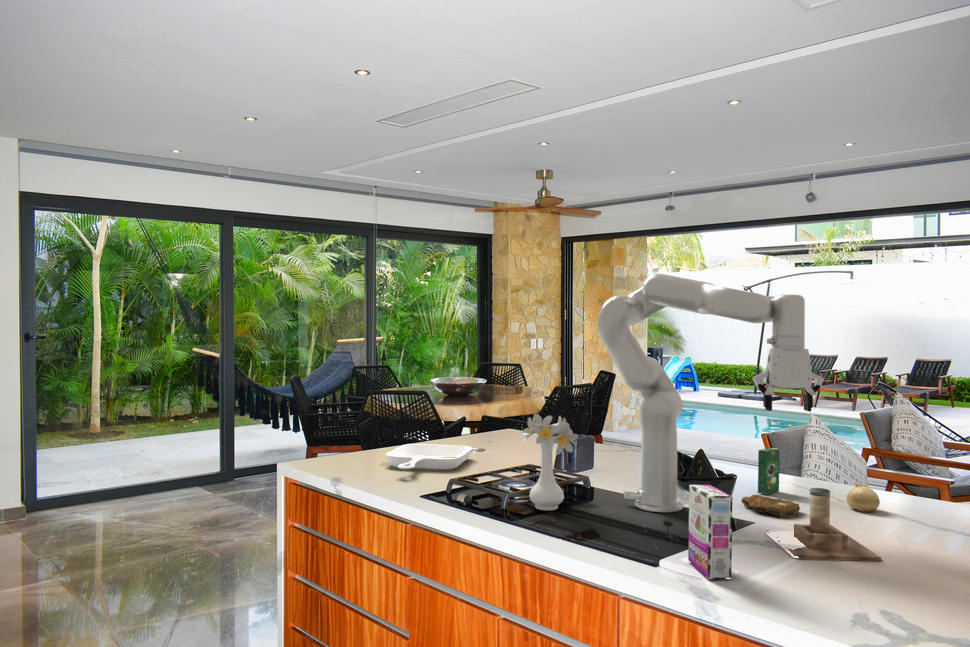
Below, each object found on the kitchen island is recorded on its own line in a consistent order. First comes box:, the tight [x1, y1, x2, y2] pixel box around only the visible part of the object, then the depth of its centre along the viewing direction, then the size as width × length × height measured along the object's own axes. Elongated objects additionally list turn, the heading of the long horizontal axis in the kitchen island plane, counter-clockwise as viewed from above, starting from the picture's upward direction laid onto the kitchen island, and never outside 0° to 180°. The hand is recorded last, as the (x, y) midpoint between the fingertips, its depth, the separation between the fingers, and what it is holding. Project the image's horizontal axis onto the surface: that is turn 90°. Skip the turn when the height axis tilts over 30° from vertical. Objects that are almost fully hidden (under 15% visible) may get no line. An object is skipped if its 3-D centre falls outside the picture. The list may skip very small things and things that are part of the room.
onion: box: [846, 482, 881, 513], centre depth 190 cm, size 8×8×7 cm
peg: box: [809, 487, 831, 534], centre depth 158 cm, size 4×4×12 cm
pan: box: [385, 443, 473, 471], centre depth 244 cm, size 27×42×5 cm, turn 167°
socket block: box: [766, 523, 882, 562], centre depth 158 cm, size 18×18×4 cm
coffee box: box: [757, 447, 780, 496], centre depth 210 cm, size 8×3×13 cm, turn 129°
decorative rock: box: [740, 494, 801, 519], centre depth 188 cm, size 11×4×15 cm
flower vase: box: [521, 413, 579, 512], centre depth 190 cm, size 13×18×25 cm
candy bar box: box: [687, 484, 733, 581], centre depth 142 cm, size 11×5×16 cm, turn 5°
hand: (787, 410), depth 178 cm, fingers open, 9 cm apart
